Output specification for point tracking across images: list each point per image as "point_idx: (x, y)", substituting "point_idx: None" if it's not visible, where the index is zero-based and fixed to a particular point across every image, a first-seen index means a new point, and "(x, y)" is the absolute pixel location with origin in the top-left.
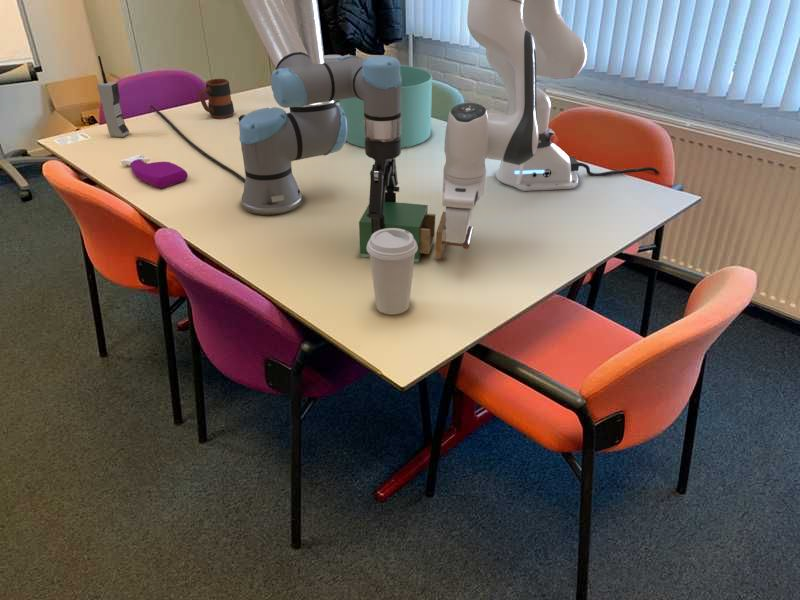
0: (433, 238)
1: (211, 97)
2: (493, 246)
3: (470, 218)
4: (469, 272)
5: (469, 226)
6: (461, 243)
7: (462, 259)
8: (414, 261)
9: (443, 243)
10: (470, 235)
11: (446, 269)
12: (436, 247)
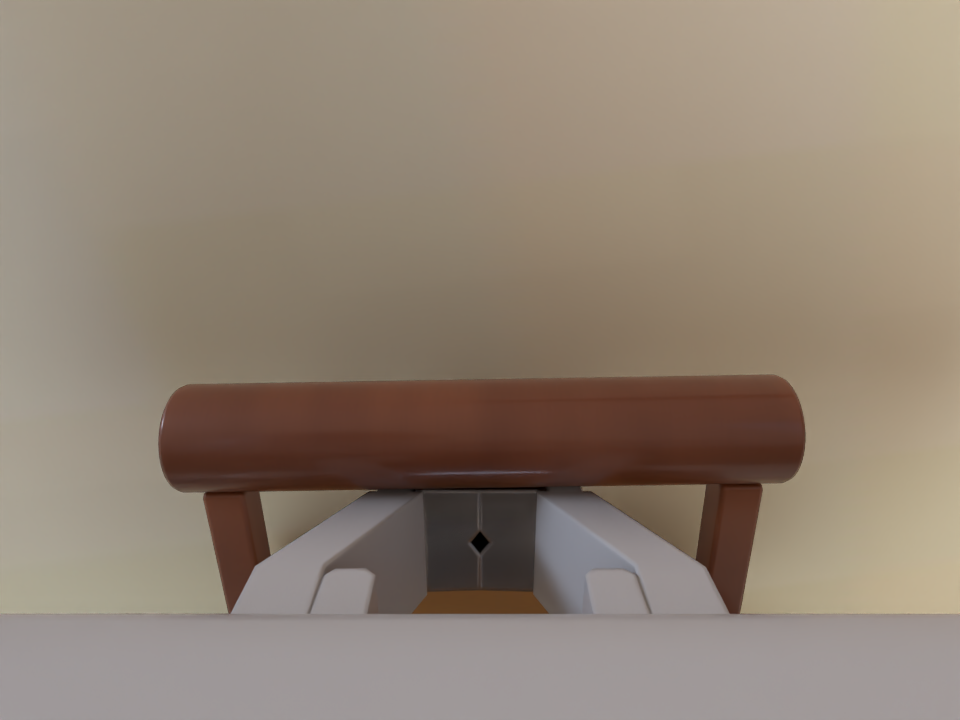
0: None
1: None
2: (189, 32)
3: (404, 702)
4: (872, 258)
5: (179, 474)
6: (746, 503)
7: (597, 362)
8: None
9: None
10: (487, 417)
11: (809, 475)
12: None
